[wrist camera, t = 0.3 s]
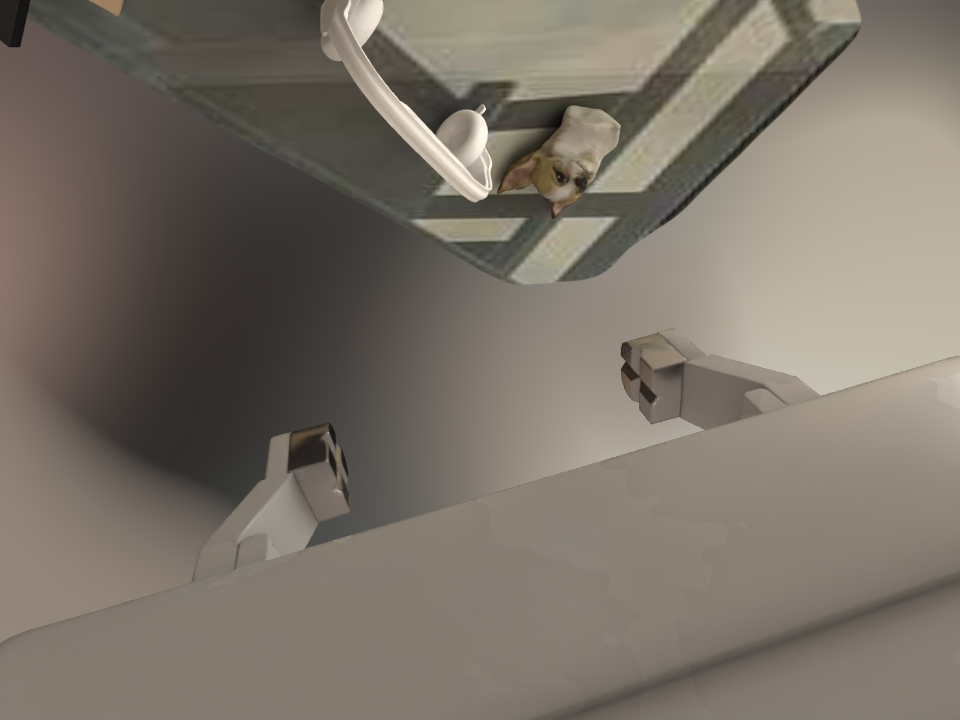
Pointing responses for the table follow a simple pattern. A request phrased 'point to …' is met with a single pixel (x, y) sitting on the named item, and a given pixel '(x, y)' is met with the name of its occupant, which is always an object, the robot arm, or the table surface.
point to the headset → (457, 139)
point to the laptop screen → (13, 21)
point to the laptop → (110, 5)
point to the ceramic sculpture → (566, 158)
